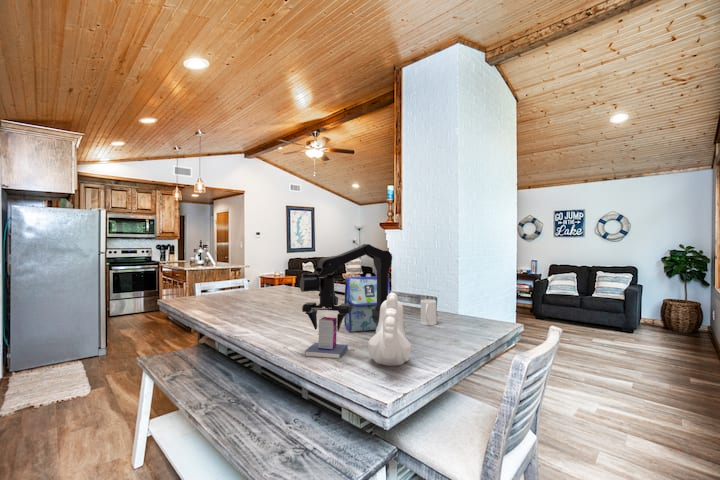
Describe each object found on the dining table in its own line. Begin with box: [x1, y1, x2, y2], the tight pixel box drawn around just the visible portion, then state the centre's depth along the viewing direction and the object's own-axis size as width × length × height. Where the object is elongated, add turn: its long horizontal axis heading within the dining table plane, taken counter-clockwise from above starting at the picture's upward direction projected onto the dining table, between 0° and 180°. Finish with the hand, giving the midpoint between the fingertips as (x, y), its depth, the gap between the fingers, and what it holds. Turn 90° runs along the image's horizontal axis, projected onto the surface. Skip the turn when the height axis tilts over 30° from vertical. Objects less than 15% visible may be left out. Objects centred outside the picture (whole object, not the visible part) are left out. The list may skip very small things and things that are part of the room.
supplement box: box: [317, 316, 337, 350], centre depth 135 cm, size 6×6×12 cm
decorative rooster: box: [367, 292, 412, 367], centre depth 122 cm, size 25×16×25 cm, turn 161°
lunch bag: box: [343, 276, 392, 333], centre depth 173 cm, size 22×17×26 cm
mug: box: [419, 299, 437, 326], centre depth 182 cm, size 12×8×12 cm
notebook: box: [304, 342, 349, 360], centre depth 136 cm, size 14×11×2 cm
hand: (327, 329), depth 136 cm, fingers open, 9 cm apart
